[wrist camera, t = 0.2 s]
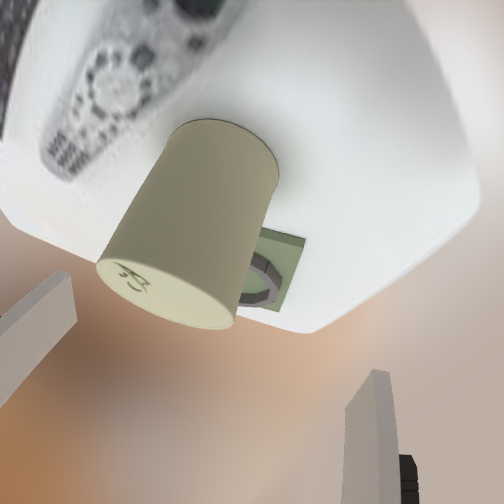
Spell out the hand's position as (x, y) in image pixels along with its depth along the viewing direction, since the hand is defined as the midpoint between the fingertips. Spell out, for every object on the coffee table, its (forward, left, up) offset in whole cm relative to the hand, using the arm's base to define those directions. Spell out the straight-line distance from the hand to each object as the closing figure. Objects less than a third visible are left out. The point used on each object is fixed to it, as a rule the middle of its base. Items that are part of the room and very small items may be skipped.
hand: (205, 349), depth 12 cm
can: (+5, -4, -15) cm, 16 cm away
